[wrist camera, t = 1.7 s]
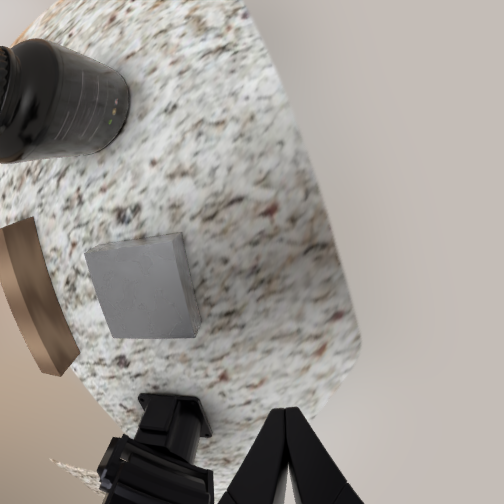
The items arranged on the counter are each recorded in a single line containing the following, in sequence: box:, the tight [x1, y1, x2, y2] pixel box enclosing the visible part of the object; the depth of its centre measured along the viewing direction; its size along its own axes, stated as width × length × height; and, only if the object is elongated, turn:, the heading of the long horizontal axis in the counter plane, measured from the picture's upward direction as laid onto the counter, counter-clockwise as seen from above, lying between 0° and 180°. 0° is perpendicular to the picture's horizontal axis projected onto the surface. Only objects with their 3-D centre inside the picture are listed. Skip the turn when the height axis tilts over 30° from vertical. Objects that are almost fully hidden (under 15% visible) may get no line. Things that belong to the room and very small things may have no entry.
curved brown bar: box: [0, 217, 80, 377], centre depth 19 cm, size 14×3×4 cm, turn 8°
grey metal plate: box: [84, 232, 201, 339], centre depth 19 cm, size 7×7×2 cm
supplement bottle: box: [0, 38, 129, 164], centre depth 10 cm, size 7×7×12 cm
